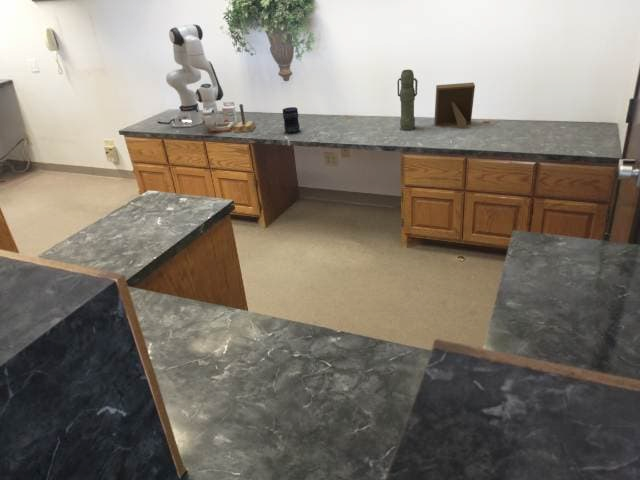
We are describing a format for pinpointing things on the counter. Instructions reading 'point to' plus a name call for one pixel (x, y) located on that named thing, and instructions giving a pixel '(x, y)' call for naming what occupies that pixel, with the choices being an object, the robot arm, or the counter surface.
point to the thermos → (407, 99)
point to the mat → (222, 130)
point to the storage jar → (291, 120)
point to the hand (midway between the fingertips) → (214, 129)
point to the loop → (223, 125)
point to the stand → (244, 123)
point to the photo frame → (454, 104)
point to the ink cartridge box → (229, 112)
